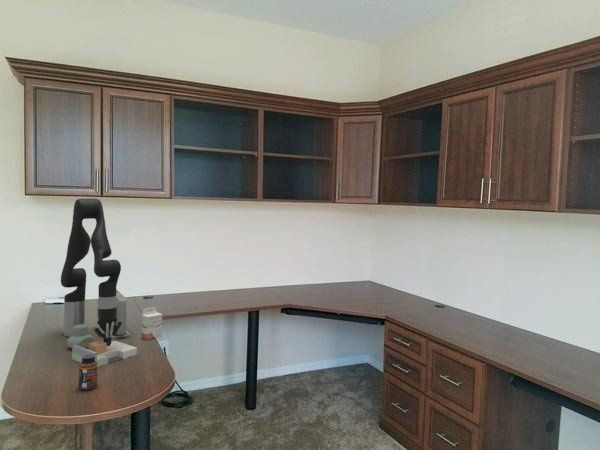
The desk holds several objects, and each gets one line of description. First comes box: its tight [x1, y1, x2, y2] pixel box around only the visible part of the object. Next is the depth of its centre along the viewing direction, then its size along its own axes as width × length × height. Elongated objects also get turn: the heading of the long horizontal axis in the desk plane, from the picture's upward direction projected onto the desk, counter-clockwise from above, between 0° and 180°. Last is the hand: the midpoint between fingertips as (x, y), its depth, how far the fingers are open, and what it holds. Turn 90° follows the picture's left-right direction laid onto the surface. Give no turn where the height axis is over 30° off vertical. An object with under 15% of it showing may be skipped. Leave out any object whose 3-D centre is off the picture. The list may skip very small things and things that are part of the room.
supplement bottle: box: [78, 355, 98, 391], centre depth 152 cm, size 6×6×11 cm
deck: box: [71, 340, 138, 368], centre depth 183 cm, size 16×20×6 cm
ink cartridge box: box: [141, 306, 163, 341], centre depth 211 cm, size 9×5×15 cm, turn 141°
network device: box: [111, 289, 130, 339], centre depth 218 cm, size 26×9×20 cm, turn 33°
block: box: [88, 340, 107, 355], centre depth 179 cm, size 5×5×4 cm
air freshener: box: [66, 323, 95, 349], centre depth 194 cm, size 11×8×10 cm
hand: (107, 345), depth 183 cm, fingers closed
